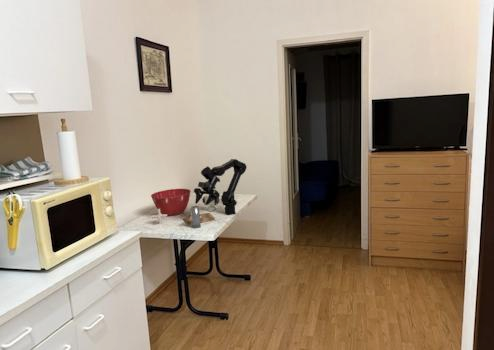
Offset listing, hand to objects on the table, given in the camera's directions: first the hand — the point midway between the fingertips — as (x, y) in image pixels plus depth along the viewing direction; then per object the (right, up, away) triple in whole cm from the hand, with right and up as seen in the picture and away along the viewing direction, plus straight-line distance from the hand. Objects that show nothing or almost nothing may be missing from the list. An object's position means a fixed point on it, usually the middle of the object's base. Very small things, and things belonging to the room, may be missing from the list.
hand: (200, 204), depth 239 cm
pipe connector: (-29, -14, +12) cm, 34 cm away
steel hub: (-2, -14, -2) cm, 15 cm away
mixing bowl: (-25, -10, +36) cm, 45 cm away
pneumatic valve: (+4, -8, +36) cm, 37 cm away
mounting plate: (-3, -12, +14) cm, 18 cm away
